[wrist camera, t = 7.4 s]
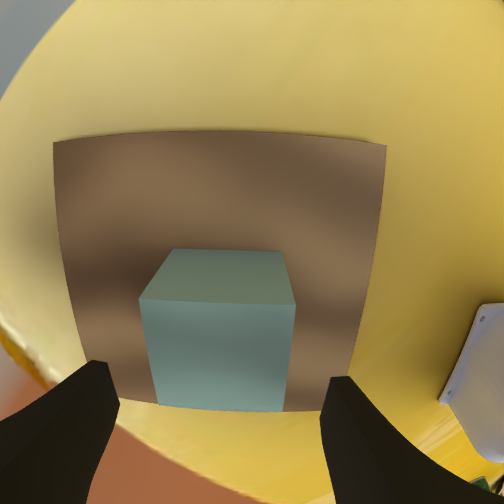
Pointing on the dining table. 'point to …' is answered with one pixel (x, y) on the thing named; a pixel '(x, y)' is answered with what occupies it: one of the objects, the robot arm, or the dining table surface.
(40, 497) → the robot arm
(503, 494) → the milk container
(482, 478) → the canned tomato
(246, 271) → the teal cube
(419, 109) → the dining table surface
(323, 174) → the walnut board
